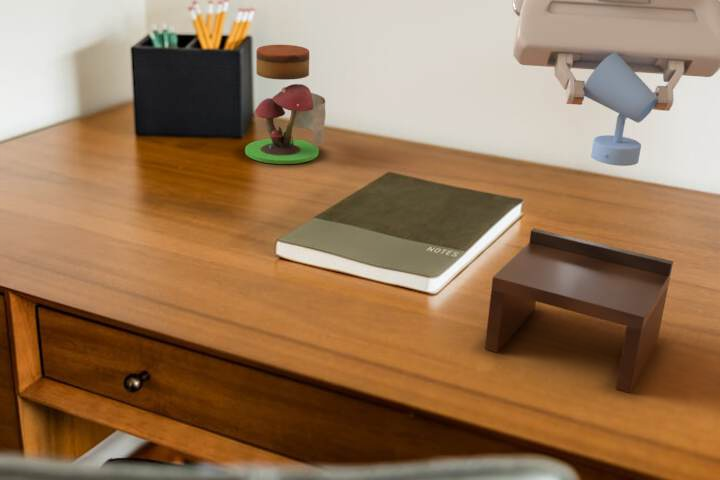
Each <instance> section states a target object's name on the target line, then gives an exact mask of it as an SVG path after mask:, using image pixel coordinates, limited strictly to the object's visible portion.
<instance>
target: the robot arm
mask: <svg viewBox="0 0 720 480" xmlns="http://www.w3.org/2000/svg"><path fill="white" fill-rule="evenodd" d="M512 9H513V11H514V13H515V14H516V16H517V17H518V20H517V25H516V29H515V35H514V41H513V49H512V52H513V53H512V56H513V57H514V59H515V60H516V61H517V62H518V64H519V65H521V66H529V67H530V66H532V67H533V66H534V67H548V68H549V67H550V68H554V77H555V78H556V80H557V81H558V82H559V84H560V85H561V87H562V88H563V89H564V90H565V104H566V105H578V106H582V104H583V101H584V100H585V96H584V95H585V91H584V87H585V84H586V82H585V80H579V79H578V80H577V79H576V77H575V75H574V73H573V72H572V71H571V69H577V70H581V69H582V70H592V71H594V70H595V69H596V68H597V66H598V65H599V64H600V63H601V62H602V61H603V60H604V59H605V58H606V57H608V56H609V55H611V54H612V53H617V54H618V55H619V56H620V57H621V58H622V59H623V60H624V62H625V63H626V64H627V65H628V66H629V67H630V68H631V69H632V70H633V71H634V72H635V73H638V74H639V73H640V74H657V75H662V80H663V82H664V83H666V85H657V86H656V87H655V89H654V90H655V91H654V92H653V93H654V94H655V95H656V96H657V97H658V100H657V103H656V105H655V106H654V108H653V109H652V111H654V110H655V111H667V112H669V111H670V110H671V108H672V106H673V105H674V90H675V88H676V87H677V85H678V83H679V82H680V80H681V78H682V76H685V77H686V76H687V77H703V78H711V77H713V76H715V75H716V74H717V72H718V71H720V0H512Z"/></svg>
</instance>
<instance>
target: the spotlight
mask: <svg viewBox="0 0 720 480" xmlns="http://www.w3.org/2000/svg"><path fill="white" fill-rule="evenodd" d="M584 91H585V95H584V98H585V97H586V98H587V99H589V100H591V101H594V102H595V103H598V104H599V105H602V106H603V107H606V108H608V109H610V110H612V111H613V112H616V113H617V117H616V123H615V128H614V135H609V134H608V135H607V134H606V135H599V136H595V137H594V138H593V142H592V148H591V154H590V156H591V158H592V159H593V160H595V161H596V162H598V163H602V164H605V165H610V166H619V167H627V166H630V167H631V166H634V165H637V164H638V163H639V162H640V161H639V160H640V154H641V149H642V144H641V143H640V142H639V141H638V140H635V139H633V138H630V137H625V136H623V135H624V130H625V123H626V120H627V119H629V120H631V121H633V122H635V123H641V122H642V121H644V119H645V118H646V117H648V115H650V113H652V111H653V108H654V106H655V105H656V103H657V100H658V97H657V96H656V95H655V94H654V92H653V91H652V89H651V88H650V87H649V86H648V85H647V84H646V82H644V81H643V80H642V79H641V77H640V76H638V74H637V72H634V71H633V70H632V69H631V68H630V67H629V66H628V65H627V64H626V63H625V62H624V60H623V59H622V58H621V57H620V56H619V55H618V54H617V53H612V54H611V55H609V56H608V57H606V58H605V59H604V60H603V61H602V62H601V63H600V64H599V65H598V66H597V68H596V69H595V70H592V73H591V74H590V75H589V76H588V78H587V80H586V82H585V87H584Z"/></svg>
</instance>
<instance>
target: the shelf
mask: <svg viewBox="0 0 720 480" xmlns="http://www.w3.org/2000/svg"><path fill="white" fill-rule="evenodd" d="M673 265H674V261H673V260H670V259H665V258H662V257H657V256H654V255H648V254H645V253H640V252H636V251H632V250H627V249H624V248H619V247H616V246H615V247H614V246H611V245H607V244H602V243H597V242H594V241H589V240H585V239H581V238H577V237H573V236H569V235H565V234H560V233H556V232H551V231H547V230H543V229H538V228H532V229H531V230H530V235H529V242H528V243H527V244H526V245H525V246H524V247H523V248H522V249H521V250H519V252H517V253H516V254H515V256H513V257H512V258H511V259H510V260H509V261H508V262H506V264H505V265H503V267H502V268H501V269H499V270H498V272H496V274H494V275H493V276H492V280H491V281H492V282H491V289H490V299H489V307H488V317H487V325H486V334H485V342H484V343H485V344H484V349H485V351H490V352H492V353H495V354H496V353H498V352H499V351H500V350H501V349H502V348H503V347H504V346H505V344H506V343H507V342H508V341H509V340H510V339H511V338H512V336H514V334H515V333H516V332H517V331H518V330H519V329H520V327H521V326H522V325H523V324H524V323H525V322H526V321H527V319H528V318H529V317H530V316H531V314H533V312H534V311H535V310H536V303H541V304H544V305H547V306H552V307H555V308H559V309H562V310H565V311H566V310H567V311H571V312H574V313H577V314H580V315H581V314H582V315H584V316H588V317H592V318H596V319H600V320H603V321H607V322H609V323H610V322H611V323H614V324H618V325H621V326H626V329H625V334H624V339H623V345H622V350H621V356H620V363H619V367H618V372H617V377H616V384H615V390H617V391H621V392H623V393H627V394H630V393H631V391H632V389H633V388H634V385H636V382H637V380H638V378H639V376H640V375H641V373H642V371H643V369H644V367H645V366H646V364H647V362H648V360H649V359H650V356H652V353H653V351H654V350H655V348H656V346H657V344H658V341H659V335H660V330H661V325H662V320H663V314H664V309H665V305H666V299H667V295H668V290H669V285H670V279H671V276H672V270H673V269H672V268H673Z"/></svg>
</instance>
